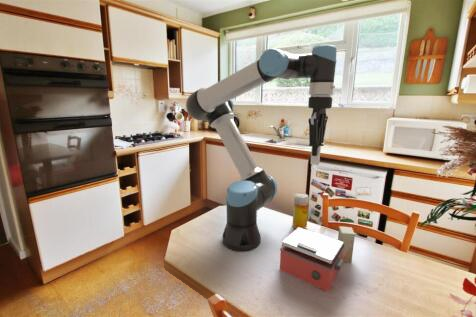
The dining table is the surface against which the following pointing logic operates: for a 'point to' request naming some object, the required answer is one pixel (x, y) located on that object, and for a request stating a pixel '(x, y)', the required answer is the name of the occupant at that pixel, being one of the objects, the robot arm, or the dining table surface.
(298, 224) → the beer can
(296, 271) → the red hinged chest
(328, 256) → the lid
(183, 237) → the dining table surface
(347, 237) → the box
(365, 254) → the dining table surface
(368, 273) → the dining table surface
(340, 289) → the dining table surface
